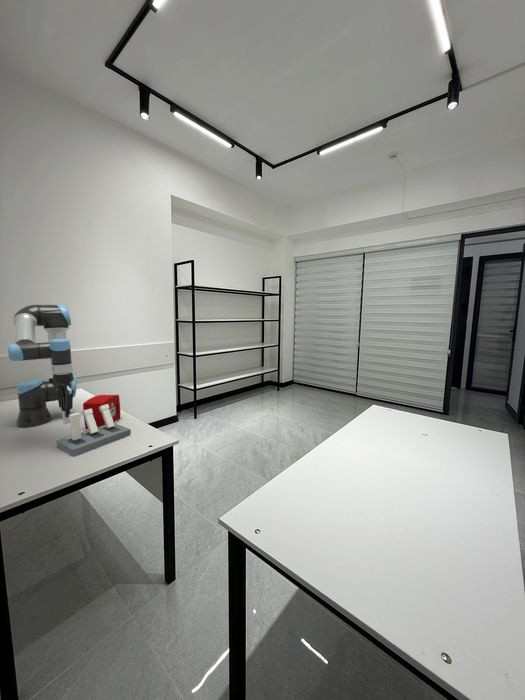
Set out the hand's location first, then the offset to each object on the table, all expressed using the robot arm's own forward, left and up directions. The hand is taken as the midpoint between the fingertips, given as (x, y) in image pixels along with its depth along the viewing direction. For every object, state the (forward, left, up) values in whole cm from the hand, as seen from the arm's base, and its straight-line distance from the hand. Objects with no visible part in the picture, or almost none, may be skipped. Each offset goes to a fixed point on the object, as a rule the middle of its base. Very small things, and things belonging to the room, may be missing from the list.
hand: (67, 423), depth 134 cm
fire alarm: (-10, +22, -10) cm, 26 cm away
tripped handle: (+8, 0, -7) cm, 10 cm away
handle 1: (+8, +8, -7) cm, 13 cm away
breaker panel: (+8, +8, -10) cm, 15 cm away
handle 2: (+8, +16, -7) cm, 19 cm away
